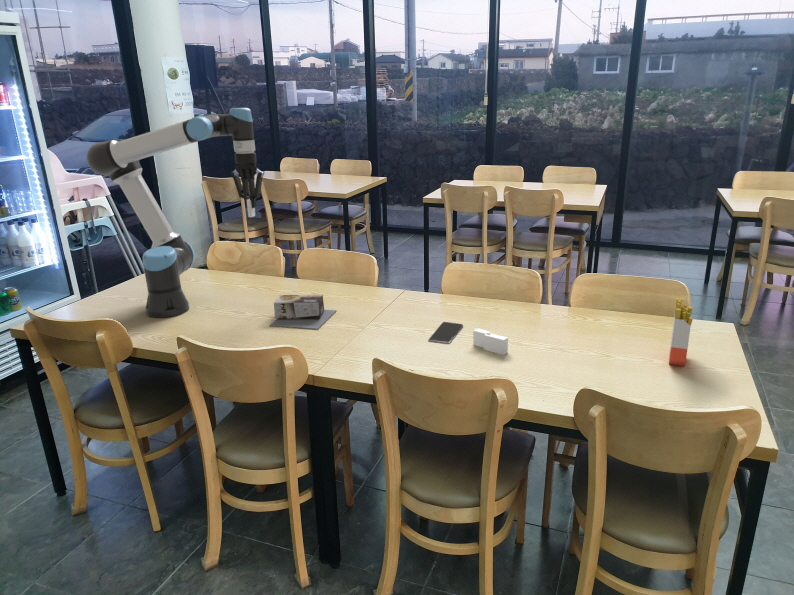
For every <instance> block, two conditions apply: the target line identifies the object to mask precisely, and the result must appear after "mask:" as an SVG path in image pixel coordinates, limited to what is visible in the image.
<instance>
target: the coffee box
mask: <svg viewBox="0 0 794 595" xmlns="http://www.w3.org/2000/svg"><path fill="white" fill-rule="evenodd" d="M273 309H274V320H276V319H320V318H321V316H322V314H323V312H324V310H325V303H324V295H323V294H283V295H282V294H280V295H278V297H277V298H276V299H275V301H274V302H273Z"/></svg>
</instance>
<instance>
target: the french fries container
mask: <svg viewBox="0 0 794 595" xmlns="http://www.w3.org/2000/svg"><path fill="white" fill-rule="evenodd" d="M675 300H676V301H675V310H674V316H673V324H672V331H671V332H672V333H671V338H670V339H671V340H670V347H669V348H670V349H669V356H668V357H669V358H668V364H669V365H672V366H673V365H674V366H679V367H685V365H686V362H687V356H688V348H689V340H690V333H691V328H692V327H691V326H692V323H693V320H694V318H692V317H691V316H692V315H691V314H692V311H693V306H689V305H688V307H687V304H683V306H682V303H683V299H682V297H676V299H675Z"/></svg>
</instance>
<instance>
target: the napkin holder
mask: <svg viewBox="0 0 794 595" xmlns="http://www.w3.org/2000/svg"><path fill="white" fill-rule="evenodd" d="M472 335H473V337H472V339H473V340H472V345H473V346H476V347H480V348H482V349H483V350H484V351H488V352H492V353H495V354H498V355H502V356H504V355H506V354H507V353H508V351H509V350H508V347H509V337H508V336H504V335H499V334H495V333H492V332H491V331H490V330H485V329H482V328H479V327H478V328H477V327H476V328H475V329H474V330H473V334H472Z"/></svg>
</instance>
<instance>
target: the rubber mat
mask: <svg viewBox="0 0 794 595" xmlns="http://www.w3.org/2000/svg"><path fill="white" fill-rule="evenodd" d="M336 313H337V309H336V310H335V309H324V312H323V314H322V316H321V318H320V319H274V321H273V322H271V323H270V324H269V327H276V326H279V327H280V328H289V327H292V328H293V329H302V328H304V330H306V329H307V330H315V329H318V330H319V329H321V327H323V325H325V323H326V322H327V321H329V320H330V319H331V317H333V315H335V314H336ZM292 328H291V329H292Z"/></svg>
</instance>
